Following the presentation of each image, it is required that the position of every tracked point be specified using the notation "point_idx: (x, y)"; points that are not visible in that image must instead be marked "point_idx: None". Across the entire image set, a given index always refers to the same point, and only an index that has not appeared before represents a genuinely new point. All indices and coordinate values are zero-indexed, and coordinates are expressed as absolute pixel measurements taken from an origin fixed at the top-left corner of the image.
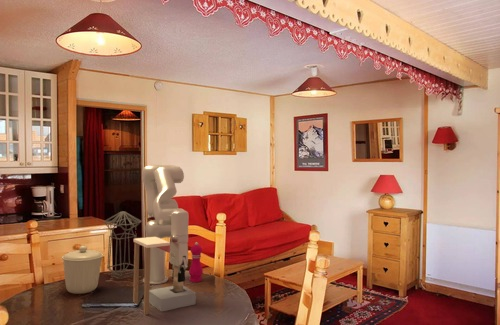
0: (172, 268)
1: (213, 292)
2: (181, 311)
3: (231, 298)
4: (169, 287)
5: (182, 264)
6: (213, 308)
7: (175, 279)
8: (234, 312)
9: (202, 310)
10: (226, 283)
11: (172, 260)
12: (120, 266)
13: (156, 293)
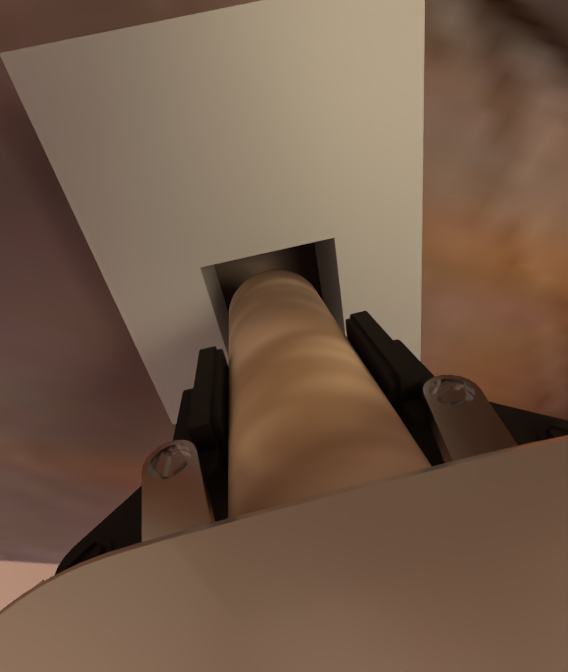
0: (468, 387)
1: None
2: (54, 258)
3: None
4: (394, 257)
5: None
6: (86, 443)
7: (252, 334)
8: (7, 513)
9: (58, 386)
10: None
11: (462, 622)
12: None
13: (257, 54)
